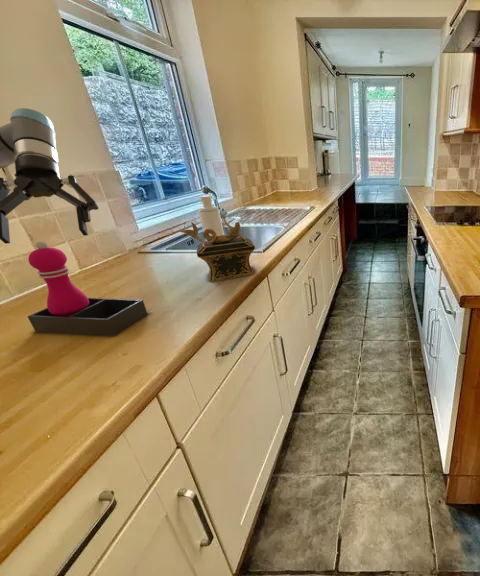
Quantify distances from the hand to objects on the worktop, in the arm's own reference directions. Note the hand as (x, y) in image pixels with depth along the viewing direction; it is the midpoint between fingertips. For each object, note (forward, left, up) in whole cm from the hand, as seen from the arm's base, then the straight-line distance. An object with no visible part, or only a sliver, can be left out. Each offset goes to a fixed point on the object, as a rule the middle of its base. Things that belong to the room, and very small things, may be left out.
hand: (45, 236), depth 74 cm
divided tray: (+8, -4, -21) cm, 23 cm away
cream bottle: (+10, +47, -21) cm, 52 cm away
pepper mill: (+3, -4, -20) cm, 21 cm away
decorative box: (+23, +29, -21) cm, 43 cm away
